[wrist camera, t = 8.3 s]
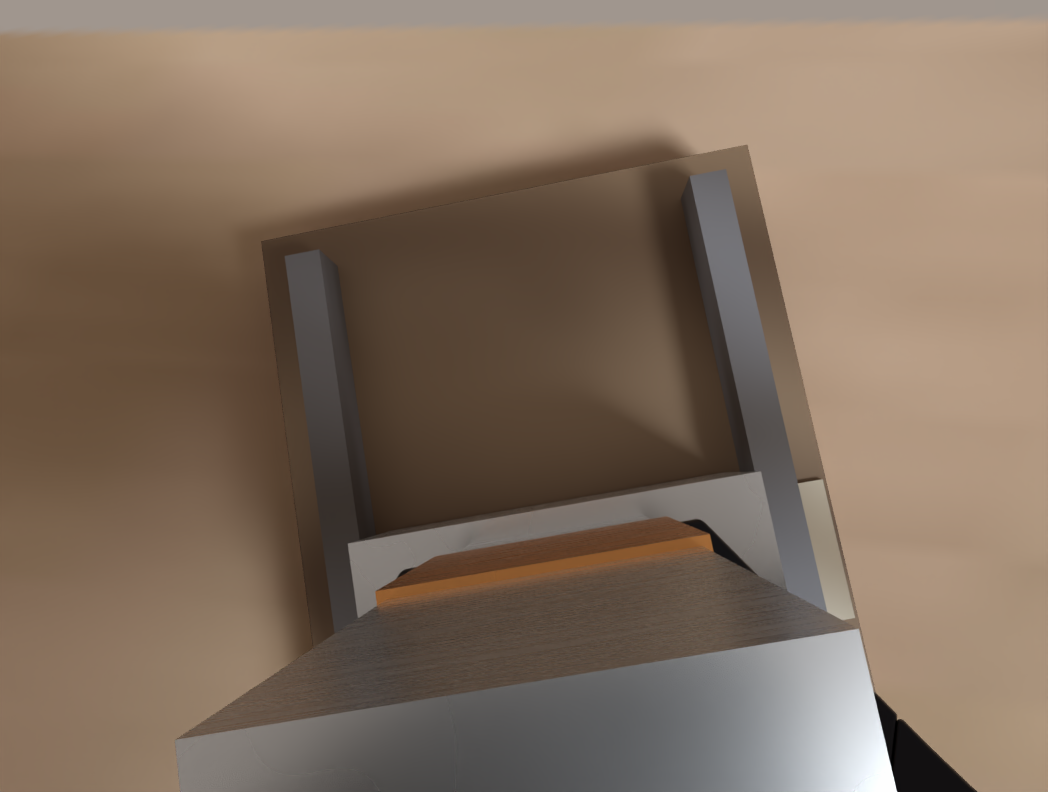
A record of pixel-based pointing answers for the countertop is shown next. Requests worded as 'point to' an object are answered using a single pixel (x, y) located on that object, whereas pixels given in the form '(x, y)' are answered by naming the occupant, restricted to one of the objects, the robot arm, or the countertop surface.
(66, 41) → the countertop surface
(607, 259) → the base
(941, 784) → the robot arm
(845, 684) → the sliding jaw
